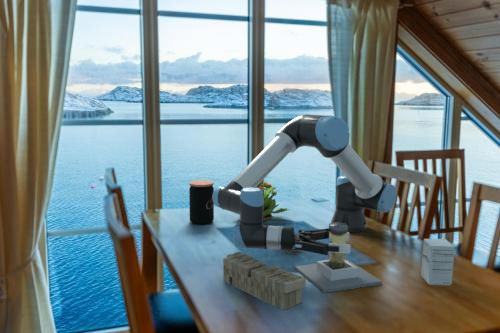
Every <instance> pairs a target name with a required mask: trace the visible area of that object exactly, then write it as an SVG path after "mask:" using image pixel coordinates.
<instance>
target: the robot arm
mask: <svg viewBox="0 0 500 333" xmlns="http://www.w3.org/2000/svg"><path fill="white" fill-rule="evenodd" d="M349 129H350V128H349V125H348V124H347V122H346V121H345V120H344V119H342V118H341V117H339V116H333V115H320V114H317V115H316V114H301V115H298V116H297V117H295V118H293V119H292V120H289V121H288V122H287V123H286V124H284V125H283V126H282V127H281V128H280V129H278V131H277V132H275V135H274V139H273V140H272V141H271V142H270V143H269V144H267V145H266V146H265V147H264V148H263V149H262V151H260V153H259V154H258V155H256V157H254V159H252V160H251V161H250V162H249V163H248V164H247V165H246V166H245V168H243V170H241V171H240V173H238V174H237V175H236V176H235V177H234V178H233V179H232V180H231V182H229V183H228V184H227V185H226V186H225V185H222V186H221V185H220V186H218V187H216V188H214V192H213V196H212V199H213V202H214V206H215V207H218V208H220V209H222V210H225V211H228V212H231V213H234V214H237V215H239V223H236V224H235V225H234V226H233V230H232V231H233V232H232V242H233V244H234V246H235V247H238V248H246V249H262V250H270V251H272V252H273V251H275V250H280V249H281V250H282V251H286V252H288V251H289V252H292V251H293V250H296V251H297V250H298V251H304V252H309V253H315V254H318V255H319V254H320V255H323V256H324V255H325V256H329V252H333V253H345V254H348V255H349V254H351V244H350V243H346V244H338V243H330V242H328V243H324V242H321V240H329V241H330V232H329V227H328V228H327V227H326V228H316V229H298V231H297V232H295V228H294V227H293V226H283V227H281V226H280V225H264V220H263V208H264V200H263V191H264V190H263V191H262V190H261V189H259V188H255V187H256V186H257V185H258V184H259V183H260V182H261V183H262V182H263V180H265V178H266V177H267V176H268V175H269V174H271V172H272V171H273V170H274V169H275V168H276V167H278V165H279V164H281V162H282V161H283V160H284V159H285V158H286V157H288V155H289V154H290V153H292V154H293V153H295V152H296V151H297V150H298V149H300V148H301V147H308V148H315V149H316V150H317V151H318V152H319V153H320V154H321V156H322V157H324V158H326V159H330V160H331V161H332V162H333V163H334V164H335V166H337V168H338V169H339V170H340V171H341V173H342V174H343V175H340V176H338V177H337V179H336V185H335V210H334V213H333V215H332V219H331V221H330V223H333V222H340V223H345V224H347V225H348V229H347V233H346V242H349V241H350V233H361V232H365V231H367V229H368V228H367V219H366V216H365V213H364V209H367V210H370V211H371V210H372V211H377V212H378V213H388V212H390V211H391V210H392V208H393V207H394V206H395V203H396V200H397V195H398V194H397V192H398V191H397V187H396V186H395V185H393V184H392V183H386V182H385V181H384V180H383V178H382V177H381V176H380V175H378V174H377V173H373V172H372V171H371V169H370V168H369V167H368V166H367V165H366V163H365V162H364V161H363V160H362V159H361V157H360V156H359V155H358V153H357V152H356V151H355V150H354V148H353V147H352V146H351V144H350V132H349Z"/></svg>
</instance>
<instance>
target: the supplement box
mask: <svg viewBox="0 0 500 333" xmlns="http://www.w3.org/2000/svg"><path fill="white" fill-rule="evenodd" d="M422 244H423V245H422V256H421V260H422V261H421V269H420V270H421V271H420V272H421V273H420V274H421V275H420V276H421V277H422V278H423V279H424V281H425V282H426V283H427V285H430V286H451V285H450V284H453V283H452V282H453V272H454V263H455V262H454V261H455V251H456V250H455V248H456V246H454V245H453V244H452V243H451V242H450V241H449V240H447V239H445V238H423V242H422Z"/></svg>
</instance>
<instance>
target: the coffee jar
mask: <svg viewBox="0 0 500 333" xmlns="http://www.w3.org/2000/svg"><path fill="white" fill-rule="evenodd" d="M188 191H189V193H188V194H189V195H188V196H189V197H188V198H189V222H190V223H191V224H192V225H194V226H195V225H196V226H206V225H211V224H212V223H213V222H214V220H215V215H214V214H215V213H214V212H215V207H214V206H215V204H214V202H213V199H212V196H213V192H214V191H215V188H214V181H212V180H205V179H202V180H200V179H199V180H191V181H189V190H188Z"/></svg>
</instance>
